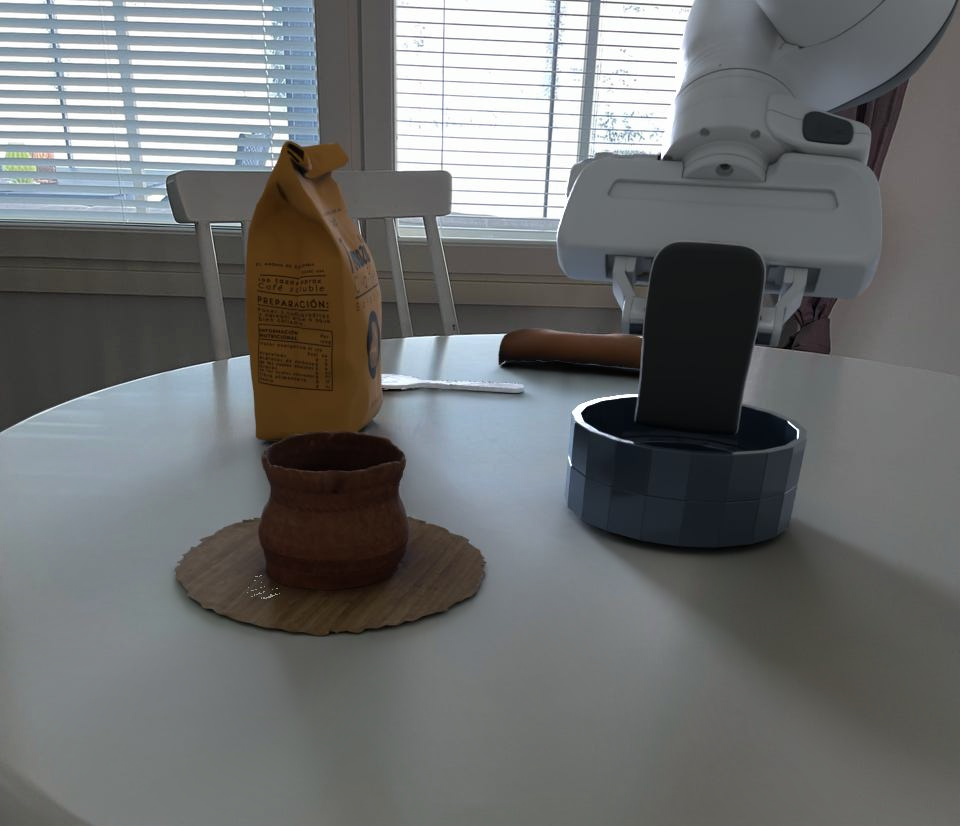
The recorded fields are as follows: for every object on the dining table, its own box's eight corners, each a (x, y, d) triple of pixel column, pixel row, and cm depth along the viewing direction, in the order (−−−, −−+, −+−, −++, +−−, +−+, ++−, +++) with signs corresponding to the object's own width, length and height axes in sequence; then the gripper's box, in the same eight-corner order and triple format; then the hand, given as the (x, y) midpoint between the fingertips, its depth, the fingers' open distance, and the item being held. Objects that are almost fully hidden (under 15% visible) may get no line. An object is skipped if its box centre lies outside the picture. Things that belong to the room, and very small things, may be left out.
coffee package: (401, 418, 85) (400, 144, 75) (352, 456, 74) (344, 142, 64) (298, 408, 87) (284, 139, 76) (237, 443, 76) (210, 136, 66)
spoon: (523, 396, 94) (523, 391, 94) (345, 387, 94) (345, 381, 94) (524, 384, 98) (524, 379, 98) (354, 376, 99) (354, 371, 99)
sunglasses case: (660, 361, 110) (665, 315, 105) (653, 404, 107) (658, 358, 101) (510, 350, 113) (507, 304, 108) (499, 391, 110) (495, 345, 104)
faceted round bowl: (754, 483, 72) (770, 398, 69) (818, 560, 58) (840, 458, 55) (557, 476, 72) (564, 390, 68) (575, 551, 58) (584, 449, 55)
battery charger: (741, 426, 63) (773, 242, 58) (738, 440, 60) (772, 247, 54) (637, 414, 64) (659, 234, 59) (629, 428, 61) (651, 239, 56)
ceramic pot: (550, 574, 55) (559, 457, 52) (296, 671, 44) (288, 530, 40) (360, 494, 66) (358, 394, 63) (120, 556, 55) (102, 437, 52)
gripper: (571, 114, 62) (532, 289, 58) (898, 127, 58) (881, 315, 54) (575, 188, 68) (541, 350, 64) (872, 203, 64) (855, 378, 60)
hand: (699, 334), depth 59 cm, fingers closed on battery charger, 7 cm apart
